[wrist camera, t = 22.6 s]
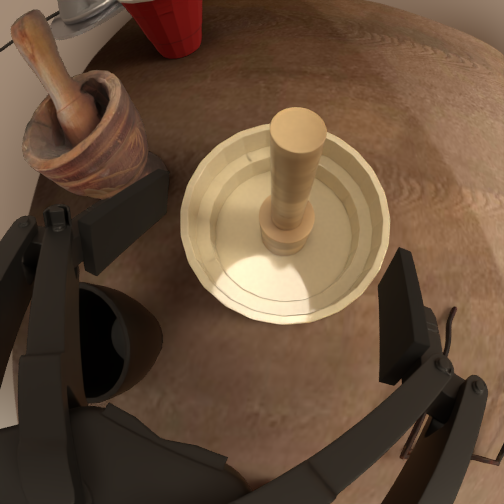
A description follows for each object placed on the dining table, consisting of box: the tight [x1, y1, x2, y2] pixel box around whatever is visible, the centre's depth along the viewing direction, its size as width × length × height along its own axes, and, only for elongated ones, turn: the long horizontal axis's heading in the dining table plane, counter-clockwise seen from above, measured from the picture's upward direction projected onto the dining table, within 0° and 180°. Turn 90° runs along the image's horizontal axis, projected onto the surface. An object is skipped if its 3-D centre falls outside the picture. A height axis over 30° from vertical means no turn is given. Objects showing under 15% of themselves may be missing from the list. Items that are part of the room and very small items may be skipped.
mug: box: [79, 282, 163, 403], centre depth 22 cm, size 8×12×10 cm
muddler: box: [259, 107, 327, 256], centre depth 19 cm, size 4×4×16 cm
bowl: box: [180, 124, 390, 325], centre depth 24 cm, size 15×15×6 cm
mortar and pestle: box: [11, 10, 169, 200], centre depth 20 cm, size 12×9×20 cm
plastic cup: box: [117, 0, 202, 59], centre depth 27 cm, size 11×11×12 cm
